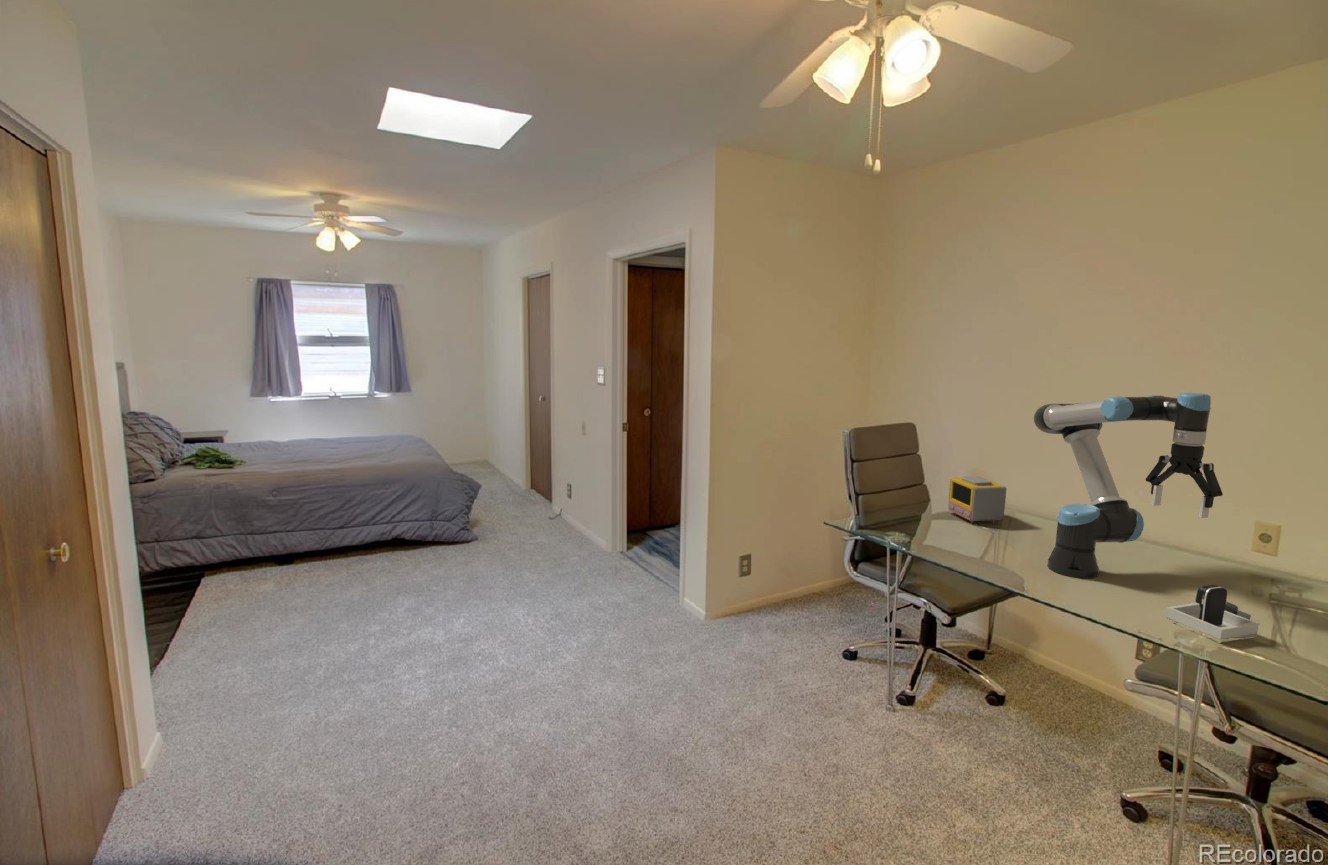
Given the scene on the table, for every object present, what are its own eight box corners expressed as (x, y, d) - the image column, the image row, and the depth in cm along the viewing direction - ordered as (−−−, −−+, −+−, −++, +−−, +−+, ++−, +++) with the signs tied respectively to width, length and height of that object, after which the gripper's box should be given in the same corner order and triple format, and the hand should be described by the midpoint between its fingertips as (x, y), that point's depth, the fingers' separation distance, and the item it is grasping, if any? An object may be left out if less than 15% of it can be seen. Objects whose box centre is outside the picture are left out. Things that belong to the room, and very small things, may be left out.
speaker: (1191, 609, 182) (1193, 595, 181) (1211, 606, 184) (1213, 592, 183) (1229, 624, 172) (1232, 610, 171) (1249, 621, 174) (1252, 606, 173)
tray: (1165, 620, 175) (1166, 607, 174) (1200, 614, 178) (1202, 601, 178) (1219, 643, 162) (1221, 629, 161) (1256, 636, 165) (1258, 623, 164)
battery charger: (1208, 619, 173) (1214, 582, 171) (1223, 625, 170) (1229, 587, 168) (1189, 622, 172) (1195, 584, 170) (1204, 628, 168) (1210, 590, 166)
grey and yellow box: (945, 512, 282) (948, 474, 279) (976, 511, 284) (980, 473, 281) (971, 525, 263) (974, 485, 260) (1004, 524, 264) (1008, 483, 261)
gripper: (1137, 437, 193) (1129, 501, 196) (1226, 452, 169) (1215, 524, 172) (1154, 436, 194) (1146, 499, 198) (1245, 450, 171) (1234, 522, 174)
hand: (1178, 511), depth 185 cm, fingers open, 13 cm apart
